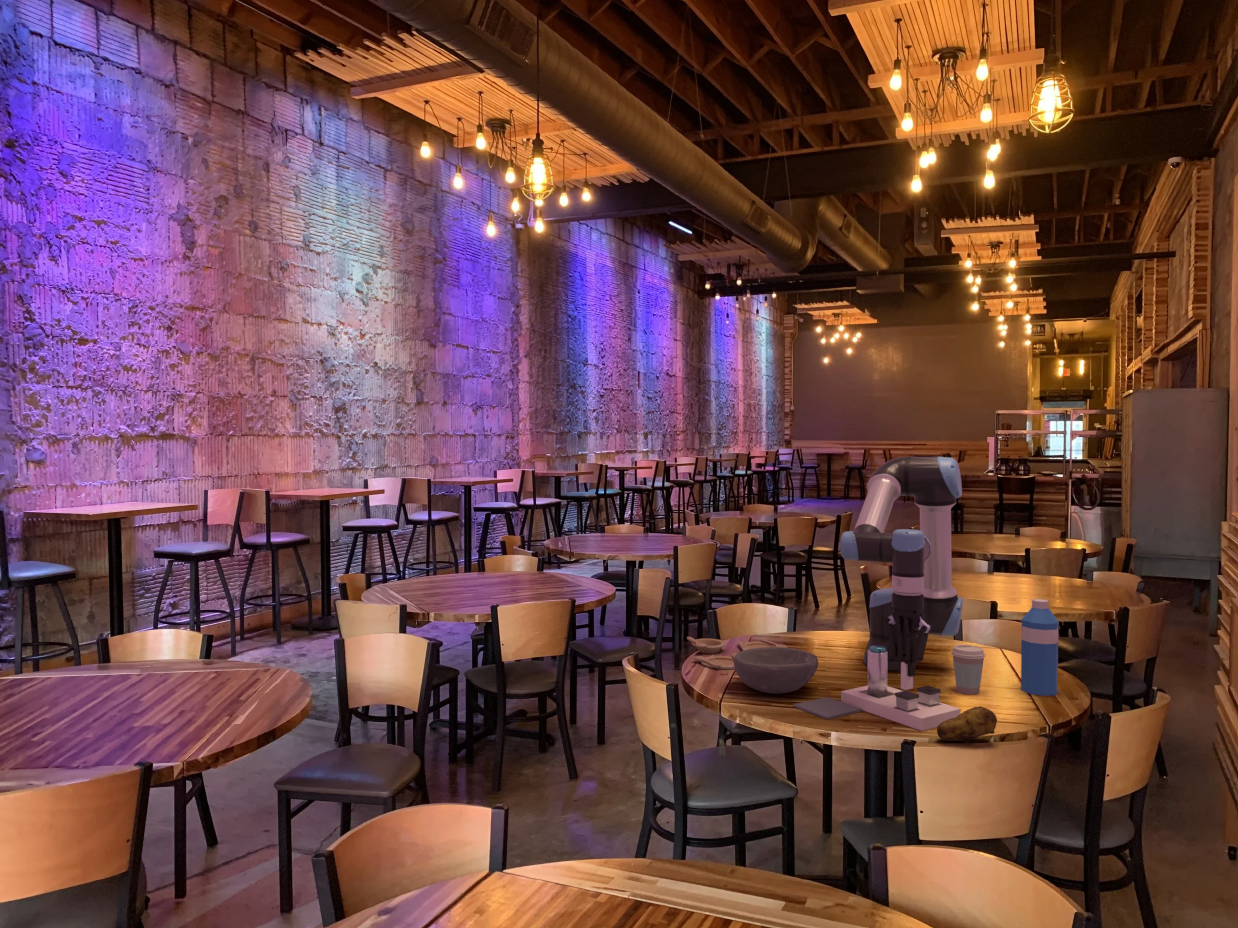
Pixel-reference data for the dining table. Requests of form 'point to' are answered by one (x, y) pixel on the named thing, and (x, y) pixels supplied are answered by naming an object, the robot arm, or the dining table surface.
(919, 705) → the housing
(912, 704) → the plunger near
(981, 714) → the potato
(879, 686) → the cylinder
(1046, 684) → the water bottle
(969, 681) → the coffee cup
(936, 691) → the dark topped block
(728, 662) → the tableware set
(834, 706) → the mat
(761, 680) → the bowl
